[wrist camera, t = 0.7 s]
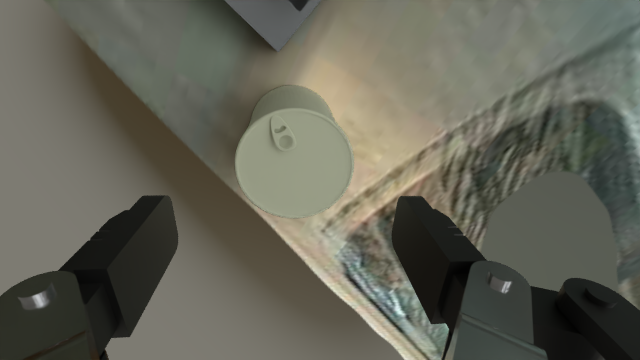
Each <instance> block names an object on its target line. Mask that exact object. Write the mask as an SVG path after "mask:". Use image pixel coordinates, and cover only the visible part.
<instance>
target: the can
mask: <svg viewBox="0 0 640 360" xmlns="http://www.w3.org/2000/svg"><path fill="white" fill-rule="evenodd" d="M353 170H354V155H353V150H352V147H351V144H350V141H349V139H348V137H347V136H346V134H345V133H344V131H343V130H342V129H341V128H340V126H339V125H338V124H337V123H336V121H335V119H334V118H333V116H332V113H331V110H330V108H329V106H328V105H327V103H326V102H325V101H324V99H323V98H322V97H321V96H319V95H318V94H317V93H316V92H314V91H312V90H310V89H308V88H305V87H302V86H296V85H288V86H282V87H278V88H276V89H273V90H271V91H270V92H268V93H267V94H265V95H264V96H263V97H262V98H261V99H260V100H259V102H258V103H257V104H256V106H255V108H254V110H253V113H252V116H251V121H250V123H249V126H248V128H247V130H246V131H245V133H244V134H243V135H242V137H241V139H240V141H239V143H238V146H237V149H236V153H235V173H236V178H237V181H238V183H239V185H240V187H241V189H242V191H243V193H244V194H245V195H246V197H247V198H248V199H249V200H250V201H251V202H252V203H253V204H254V205H256V206H257V207H258V208H260V209H262V210H263V211H265V212H267V213H269V214H272V215H275V216H278V217H284V218H304V217H309V216H313V215H316V214H319V213H321V212H323V211H325V210H326V209H328V208H330V207H331V206H332V205H334V204H335V203H336V202H337V201H338V200H339V199H340V198H341V197H342V196H343V194H344V193H345V191H346V190H347V188H348V186H349V184H350V182H351V179H352V175H353Z"/></svg>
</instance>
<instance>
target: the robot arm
mask: <svg viewBox="0 0 640 360" xmlns="http://www.w3.org/2000/svg"><path fill="white" fill-rule="evenodd" d="M392 244H393V248H394V250H395V252H396V254H397V256H398V258H399V260H400V262H401V264H402V266H403V268H404V270H405V272H406V274H407V276H408V278H409V280H410V282H411V284H412V286H413V288H414V290H415V292H416V295H417V297H418V299H419V301H420V303H421V305H422V307H423V309H424V311H425V313H426V315H427V317H428V319H429V321H430V323H431V324H442V323H446V324H447V326H448V328H449V331H448V334H447V337H446V341H445V345H444V349H443V352H442V356H441V360H640V310H638V309H637V308H636V307H635V306H633V305H632V304H631V303H630V302H629V301H627V300H626V299H625V298H624V297H622V296H621V295H619V294H618V293H616V292H615V291H613V290H611V289H610V288H608V287H605V286H603V285H601V284H599V283H596V282H593V281H590V280H586V279H581V278H570V279H567V280H566V281H565V282H564V283H563V285H562V287H561V289H560V291H559V292H557V291H552V290H547V289H543V288H538V287H532V286H530V285H529V283H528V282H527V280H526V279H525V278H524V277H523V276H522V275H521V274H519V273H518V272H517V271H515V270H513V269H512V268H510V267H508V266H506V265H503V264H501V263H497V262H493V261H487V260H486V259H485V258H484V257H483V255H482V254H481V253H480V252H479V251H478V250H477V249H476V247H475V246H474V245H473V244H472V243H471V242H470V241H469V240H468V238H467V237H466V236H463V233H462V232H461V231H460V229H459V228H457V227H456V225H455V224H454V223H453V222H452V220H451V219H450V218H449V217H448V216H446V215H444V214H443V213H441V212H440V211H438V210H436V209H432V207H431V206H430V205H429V204H428V203H427V201H426V200H425V199H424V198H423V197H422V196H400V197H399V199H398V202H397V207H396V213H395V218H394V223H393V229H392ZM177 245H178V232H177V227H176V221H175V216H174V211H173V206H172V201H171V199H170V197H169V196H142V197H141V198H140V199H139V200H138V201H137V202H136V203H135V204H134V206H132V208H131V209H130V210H125V211H123V212H121V213H120V214H118V215H116V216H114V217H112V218H111V219H109V220H108V221H107V222H106V223H105V224H104V225H103V226H102V227H101V228H100V229H99V232H96V233H95V234H94V235H93V236H92V237H91V239H90V241H87V242H86V243H85V244H84V245H83V246H82V247H81V248H80V249H79V250H78V251H77V252H76V253H75V254H74V255H73V256H72V257H71V258H70V259H69V260H68V261H67V262H66V263H65V264H64V265H63V266H62V267H61V268H60V269H59V270H58V271H52V272H47V273H43V274H39V275H36V276H33V277H31V278H28V279H26V280H24V281H22V282H20V283H18V284H16V285H14V286H13V287H11V288H10V289H9V290H7V291H6V292H5V293H3V294H2V295H1V296H0V360H109V358H108V355H107V352H106V350H105V348H106V346H107V344H108V342H109V341H110V339H111V338H117V337H130V335H131V334H132V332H133V330H134V328H135V326H136V325H137V323H138V321H139V319H140V317H141V315H142V313H143V311H144V310H145V307H146V306H147V304H148V302H149V300H150V299H151V297H152V295H153V293H154V291H155V289H156V287H157V285H158V284H159V282H160V280H161V278H162V276H163V274H164V273H165V271H166V269H167V267H168V265H169V263H170V261H171V259H172V258H173V256H174V254H175V252H176V249H177Z"/></svg>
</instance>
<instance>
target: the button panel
mask: <svg viewBox="0 0 640 360" xmlns="http://www.w3.org/2000/svg"><path fill="white" fill-rule="evenodd" d="M225 1H226V2H227V3H228V4H229V5H230V6H231V7H232V8H233V9H234V10H235V11H236V12H237V13H238V14H239V15H240V16H241V17H242V18H243V19H244V20H245V21H246V22H247V23H248V24H249V25H250V26H251V27H253V28H254V29H255V30H256V31H257V32H258V33H259V34H260V35H261V36H262V37H263V38H264V39H265V40H266V41H267V42H268V43H269V44H270V45H271V46H272V47H273V48H274V49H275V50H276V51H277V52H279V51H280V50H281V48H282V47H283V46H284V45H285V44H286V42H287V41H288V40H289V39H290V37H291V36H292V35H293V34H294V33H295V31H296V30H297V29H298V28H299V26H300V25H301V24H302V23H303V21H304V20H305V19H306V18H307V17H308V15H309V14H310V13H311V12H312V10H313V9H314V8H315V7H316V6H317V4H318V3H319V2H320V1H321V0H225Z"/></svg>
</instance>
